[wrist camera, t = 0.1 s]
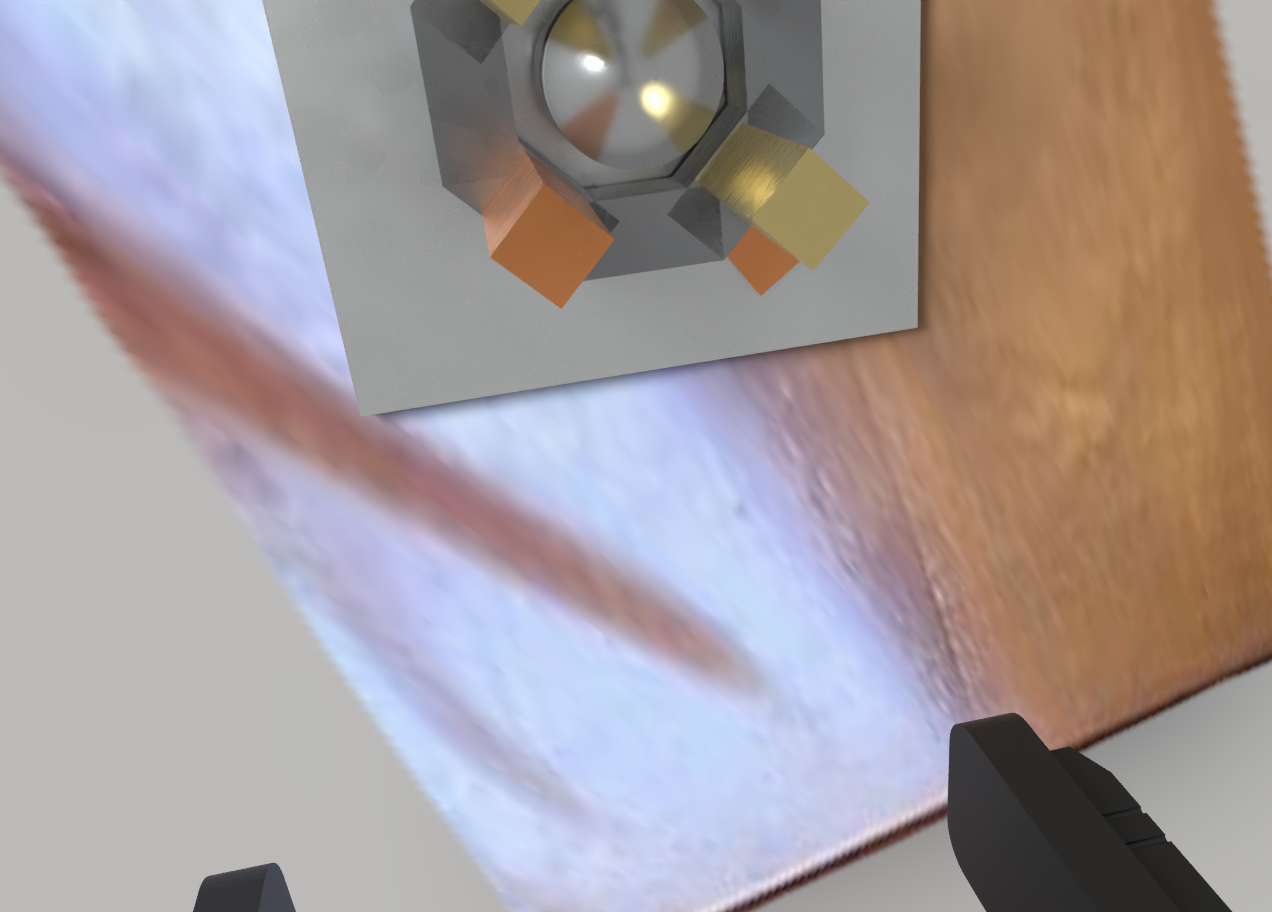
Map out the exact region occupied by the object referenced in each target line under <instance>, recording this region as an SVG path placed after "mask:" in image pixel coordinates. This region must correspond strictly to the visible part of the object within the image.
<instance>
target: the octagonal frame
mask: <svg viewBox="0 0 1272 912" xmlns="http://www.w3.org/2000/svg"><path fill="white" fill-rule="evenodd" d="M539 1H540V0H414V1H413V3H412V4H411V6H410V10H411V15H412V21H413V26H414V32H415V37H416V43H417V48H418V54H419V59H420V65H421V70H422V76H423V81H424V87H425V92H426V98H427V104H428V109H429V115H430V120H431V126H432V131H433V137H434V142H435V148H436V153H437V159H438V164H439V170H440V175H441V181H442V186H443V187H444V188H445V189H447V190H448V191H449V192H451V193H452V194H453V195H455V196H456V197H458V198H459V199H460V200H462V201H463V202H464V203H466V204H467V205H468V206H470V207H471V208H472V209H474V210H475V211H476V212H478V213H479V214H481V215H482V217H483V223H484V228H485V233H486V239H487V244H488V250H489V255H490V258H492V259H493V260H494V261H496V262H497V263H498V264H500V265H501V266H503V267H504V268H505V269H507V270H508V271H509V272H511V273H512V274H514V275H515V276H516V277H518V278H519V279H521V280H522V281H523V282H525V283H526V284H527V285H529V286H530V287H532V288H533V289H534V290H536V291H537V292H538V293H540V294H541V295H543V296H544V297H545V298H547V299H548V300H550V301H551V302H552V303H554V304H555V305H556V306H558V307H559V308H561V309H562V308H563V307H564V305H565V304H566V303H567V301H568V300H569V299H570V297H571V296H572V295H573V293H574V292H575V291H576V290H577V288H578V287H579V286H580V284H581V283H582V282H583V281H587V280H594V279H601V278H608V277H614V276H621V275H628V274H634V273H641V272H648V271H655V270H661V269H668V268H675V267H682V266H688V265H695V264H702V263H708V262H715V261H722V260H725V258H726V257H727V256H728V255H729V253H730V252H731V251H732V250H733V248H734V247H735V246H736V245H737V243H738V242H739V241H740V240H741V238H742V237H743V236H744V235H745V233H746V232H747V231H748V230H749V228H750V227H752V228H754V229H755V230H757V231H758V232H759V233H761V234H762V235H764V236H765V237H766V238H768V239H769V240H771V241H772V242H773V243H775V244H776V245H778V246H779V247H781V248H782V249H783V250H785V251H786V252H788V253H789V254H790V255H792V256H793V257H795V258H796V259H797V260H799V261H800V262H802V263H803V264H804V265H806V266H807V267H809V268H810V269H811V270H813V271H814V270H815V269H816V267H817V266H818V265H819V264H820V262H821V261H822V260H823V259H824V258H825V256H826V255H827V254H828V253H829V252H830V250H831V249H832V248H833V247H834V246H835V244H836V243H837V242H838V241H839V239H840V238H841V237H842V236H843V235H844V233H845V232H846V231H847V230H848V229H849V227H850V226H851V225H852V224H853V222H854V221H855V220H856V219H857V218H858V216H859V215H860V214H861V213H862V212H863V210H864V209H865V208H866V207H867V206H868V204H869V203H870V202H869V201H868V200H867V199H866V198H865V197H863V196H862V195H861V194H860V193H859V192H858V191H857V190H856V189H855V188H853V187H852V186H851V185H850V184H849V183H848V182H847V181H846V180H845V179H843V178H842V177H841V176H840V175H839V174H838V173H837V172H836V171H835V170H834V169H832V168H831V167H830V166H829V165H828V164H827V163H826V162H825V161H824V160H822V159H821V158H820V157H819V156H818V155H817V154H816V153H815V152H814V151H812V150H813V148H814V147H815V146H816V145H817V143H818V142H819V141H820V140H821V138H822V137H823V136H824V135H825V131H824V95H823V59H822V22H821V0H716V1H717V2H718V3H719V4H720V5H721V6H722V11H723V27H724V42H725V58H726V73H727V89H728V106H727V107H726V108H725V110H724V111H723V112H722V113H721V115H720V116H719V117H718V119H717V120H716V121H715V123H714V124H713V125H712V126H711V128H710V129H709V130H708V132H707V133H706V134H705V136H704V137H703V138H702V139H701V141H700V142H699V143H698V145H697V146H696V147H695V149H694V150H693V151H692V152H691V154H690V155H689V156H688V158H687V159H686V160H685V162H684V163H683V164H682V165H681V167H680V168H679V169H678V171H677V172H676V173H675V175H674V176H673V177H671V178H664V179H656V180H649V181H642V182H635V183H627V184H620V185H613V186H606V187H599V188H591V189H584V188H583V187H581V186H580V185H579V184H578V183H576V182H575V181H574V180H573V179H571V178H570V177H569V176H567V175H566V174H565V173H564V172H562V171H561V170H560V169H559V168H557V167H556V166H555V165H553V164H552V163H551V162H550V161H548V160H547V159H546V158H545V157H543V156H542V155H541V154H540V153H538V152H537V151H536V150H534V149H533V148H532V147H531V146H529V145H528V144H527V143H526V142H524V141H523V140H522V139H520V138H519V137H518V136H517V133H516V126H515V120H514V113H513V106H512V99H511V93H510V86H509V79H508V72H507V66H506V59H505V52H504V46H503V39H502V34H503V33H504V31H505V30H506V28H507V27H508V26H509V24H514V25H518V26H522V25H523V24H524V22H525V21H526V20H527V18H528V17H529V15H530V14H531V12H532V11H533V10H534V8H535V7H536V5H537V4H538V2H539Z"/></svg>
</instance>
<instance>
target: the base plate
mask: <svg viewBox="0 0 1272 912" xmlns="http://www.w3.org/2000/svg"><path fill="white" fill-rule="evenodd" d="M262 1H263V5H264V9H265V13H266V18H267V22H268V26H269V30H270V35H271V39H272V43H273V47H274V52H275V56H276V60H277V64H278V68H279V73H280V77H281V81H282V85H283V90H284V94H285V98H286V102H287V107H288V111H289V115H290V119H291V123H292V128H293V132H294V136H295V140H296V145H297V149H298V153H299V157H300V162H301V166H302V170H303V174H304V179H305V183H306V187H307V191H308V195H309V200H310V204H311V208H312V212H313V217H314V221H315V225H316V229H317V234H318V238H319V242H320V246H321V250H322V255H323V259H324V263H325V267H326V272H327V276H328V280H329V284H330V289H331V293H332V297H333V301H334V305H335V310H336V314H337V318H338V322H339V327H340V331H341V335H342V339H343V344H344V348H345V352H346V356H347V360H348V365H349V369H350V373H351V377H352V382H353V386H354V390H355V394H356V399H357V403H358V407H359V411H360V415H361V416H368V415H374V414H380V413H386V412H393V411H399V410H405V409H411V408H418V407H424V406H430V405H437V404H443V403H449V402H455V401H462V400H468V399H474V398H480V397H487V396H493V395H499V394H505V393H512V392H518V391H524V390H530V389H537V388H543V387H549V386H555V385H562V384H568V383H574V382H581V381H587V380H593V379H599V378H606V377H612V376H618V375H624V374H631V373H637V372H643V371H649V370H656V369H662V368H668V367H674V366H681V365H687V364H693V363H699V362H706V361H712V360H718V359H725V358H731V357H737V356H743V355H750V354H756V353H762V352H768V351H775V350H781V349H787V348H793V347H800V346H806V345H812V344H818V343H825V342H831V341H837V340H843V339H850V338H856V337H862V336H868V335H875V334H881V333H887V332H894V331H900V330H906V329H912V328H918V231H919V128H920V25H921V0H821V22H822V59H823V95H824V131H825V135H824V136H823V137H822V138H821V140H820V141H819V142H818V143H817V145H816V146H815V147H814V148H813V150H812V151H814V152H815V153H816V154H817V155H818V156H819V157H820V158H821V159H822V160H824V161H825V162H826V163H827V164H828V165H829V166H830V167H831V168H832V169H834V170H835V171H836V172H837V173H838V174H839V175H840V176H841V177H842V178H843V179H845V180H846V181H847V182H848V183H849V184H850V185H851V186H852V187H853V188H855V189H856V190H857V191H858V192H859V193H860V194H861V195H862V196H863V197H865V198H866V199H867V200H868V201H869V202H870V203H869V204H868V206H867V207H866V208H865V209H864V210H863V212H862V213H861V214H860V215H859V216H858V218H857V219H856V220H855V221H854V222H853V224H852V225H851V226H850V227H849V229H848V230H847V231H846V232H845V233H844V235H843V236H842V237H841V238H840V239H839V241H838V242H837V243H836V244H835V246H834V247H833V248H832V249H831V250H830V252H829V253H828V254H827V255H826V256H825V258H824V259H823V260H822V261H821V262H820V264H819V265H818V266H817V267H816V269H815V270H814V271H813V270H811V269H810V268H809V267H807V266H806V265H804V264H803V263H802V262H800V261H799V260H797V259H796V258H795V257H793V256H792V255H790V254H789V253H788V252H786V251H785V250H783V249H782V248H781V247H779V246H778V245H776V244H775V243H773V242H772V241H771V240H769V239H768V238H766V237H765V236H764V235H762V234H761V233H759V232H758V231H757V230H755V229H754V228H752V227H750V228H749V230H748V231H747V232H746V233H745V235H744V236H743V237H742V238H741V240H740V241H739V242H738V243H737V245H736V246H735V247H734V248H733V250H732V251H731V252H730V253H729V255H728V256H727V257H726V258H725V260H722V261H715V262H708V263H702V264H695V265H688V266H682V267H675V268H668V269H661V270H655V271H648V272H641V273H634V274H628V275H621V276H614V277H608V278H601V279H594V280H587V281H583V282H582V283H581V284H580V286H579V287H578V288H577V290H576V291H575V292H574V293H573V295H572V296H571V297H570V299H569V300H568V301H567V303H566V304H565V305H564V307H563V308H562V309H561V308H559V307H558V306H556V305H555V304H554V303H552V302H551V301H550V300H548V299H547V298H545V297H544V296H543V295H541V294H540V293H538V292H537V291H536V290H534V289H533V288H532V287H530V286H529V285H527V284H526V283H525V282H523V281H522V280H521V279H519V278H518V277H516V276H515V275H514V274H512V273H511V272H509V271H508V270H507V269H505V268H504V267H503V266H501V265H500V264H498V263H497V262H496V261H494V260H493V259H492V258H490V255H489V250H488V244H487V239H486V233H485V228H484V223H483V217H482V215H481V214H479V213H478V212H476V211H475V210H474V209H472V208H471V207H470V206H468V205H467V204H466V203H464V202H463V201H462V200H460V199H459V198H458V197H456V196H455V195H453V194H452V193H451V192H449V191H448V190H447V189H445V188H444V187H443V186H442V181H441V175H440V170H439V164H438V159H437V153H436V148H435V142H434V137H433V131H432V126H431V120H430V115H429V109H428V104H427V98H426V92H425V87H424V81H423V76H422V70H421V65H420V59H419V54H418V48H417V43H416V37H415V32H414V26H413V21H412V15H411V10H410V6H411V4H412V3H413V1H414V0H262ZM502 39H503V46H504V52H505V59H506V66H507V72H508V79H509V86H510V93H511V99H512V106H513V113H514V120H515V126H516V133H517V136H518V137H519V138H520V139H522V140H523V141H524V142H526V143H527V144H528V145H529V146H531V147H532V148H533V149H534V150H536V151H537V152H538V153H540V154H541V155H542V156H543V157H545V158H546V159H547V160H548V161H550V162H551V163H552V164H553V165H555V166H556V167H557V168H559V169H560V170H561V171H562V172H564V173H565V174H566V175H567V176H569V177H570V178H571V179H573V180H574V181H575V182H576V183H578V184H579V185H580V186H581V187H583V188H584V189H591V188H599V187H606V186H613V185H620V184H627V183H635V182H642V181H649V180H656V179H664V178H671V177H673V176H674V175H675V173H676V172H677V171H678V169H679V168H680V167H681V165H682V164H683V163H684V162H685V160H686V159H687V158H688V156H689V155H690V154H691V152H692V151H693V150H694V149H695V147H696V146H697V145H698V143H699V142H700V141H701V139H702V138H703V137H704V136H705V134H706V133H707V132H708V130H709V129H710V128H711V126H712V125H713V124H714V123H715V121H716V120H717V119H718V117H719V116H720V115H721V113H722V112H723V111H724V110H725V108H726V107H727V106H728V89H727V73H726V58H725V42H724V27H723V11H722V6H721V5H720V4H719V3H718V2H717V1H716V0H540V1H539V2H538V4H537V5H536V7H535V8H534V10H533V11H532V12H531V14H530V15H529V17H528V18H527V20H526V21H525V22H524V24H523V25H522V26H518V25H514V24H509V26H508V27H507V28H506V30H505V31H504V33H503V34H502Z"/></svg>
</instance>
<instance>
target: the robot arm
mask: <svg viewBox="0 0 1272 912" xmlns="http://www.w3.org/2000/svg"><path fill="white" fill-rule="evenodd" d="M947 819H948V829H949V835H950V839H951V843H952V847H953V850H954V853H955V856H956V858H957V861H958V863H959V865H960V868H961V869H962V872H963V873H964V875H965V877H966V878H967V880H968V882H969V883H970V885H971V887H972V888H973V890H974V892H975V894H976V895H977V897H978V899H979V900H980V902H981V903H982V905H983V907H984V908H985V910H986V912H1232V911H1231V910H1230V909H1229V908H1228V906H1227V905H1226V904H1225V903H1224V902H1223V901H1222V900H1221V898H1220V897H1219V896H1218V895H1217V894H1216V893H1215V891H1214V890H1213V889H1212V888H1211V887H1210V886H1209V885H1208V883H1207V882H1206V881H1205V880H1204V879H1203V878H1202V876H1201V875H1200V874H1199V873H1198V872H1197V871H1196V869H1194V867H1193V866H1192V865H1191V864H1190V863H1189V861H1188V860H1187V859H1186V858H1185V857H1184V856H1183V855H1182V854H1181V852H1180V851H1179V850H1178V849H1177V848H1176V846H1175V845H1174V844H1173V843H1172V842H1171V841H1170V842H1167V840H1166V838H1165V834H1164V833H1163V832H1162V830H1161V829H1160V828H1159V827H1158V826H1157V825H1156V823H1155V822H1154V821H1153V820H1152V819H1151V818H1150V817H1149V815H1148V814H1147V813H1144V814H1143V813H1142V811H1141V806H1140V805H1139V804H1138V803H1137V802H1136V800H1134V798H1133V797H1132V796H1131V795H1130V794H1129V793H1128V791H1127V790H1126V789H1125V788H1124V787H1123V785H1121V783H1120V782H1119V781H1118V780H1117V779H1116V778H1115V776H1114V775H1113V774H1112V773H1111V772H1110V771H1108V770H1106V769H1105V768H1103V767H1102V766H1100V765H1098V764H1097V763H1095V762H1093V761H1092V760H1090V759H1089V758H1087V757H1085V756H1084V755H1082V754H1081V753H1079V752H1077V751H1076V750H1074V749H1073V748H1071V747H1066V748H1061V749H1056V750H1052V751H1050V750H1049V749H1048V748H1047V747H1046V745H1045V744H1044V743H1043V742H1042V741H1041V739H1040V738H1039V737H1038V736H1037V734H1036V733H1035V732H1034V731H1033V729H1032V728H1031V727H1030V726H1029V725H1028V723H1027V722H1026V721H1025V720H1024V719H1023V718H1022V717H1021V716H1020V715H1018V714H1016V713H1008V714H1003V715H998V716H994V717H989V718H984V719H979V720H974V721H969V722H965V723H960V724H956V725H954V726H953V727H952V729H951V733H950V745H949V779H948V813H947ZM193 912H296V911H295V908H294V905H293V902H292V899H291V897H290V894H289V890H288V887H287V885H286V882H285V879H284V876H283V874H282V871H281V869H280V867H279V866H278V865H277V864H276V863H270V864H265V865H260V866H255V867H250V868H246V869H241V870H236V871H231V872H226V873H221V874H217V875H212V876H208V877H206V878H205V879H204V880H203V882H202V884H201V886H200V889H199V892H198V896H197V900H196V903H195V907H194V911H193Z"/></svg>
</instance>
